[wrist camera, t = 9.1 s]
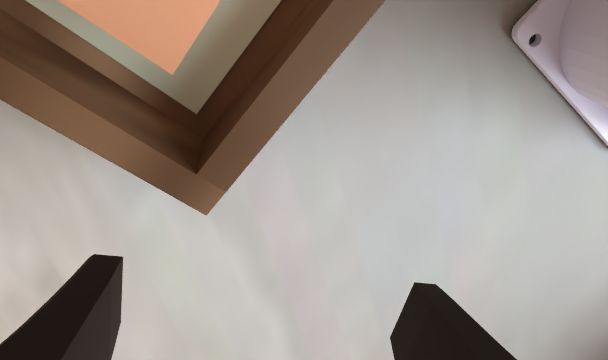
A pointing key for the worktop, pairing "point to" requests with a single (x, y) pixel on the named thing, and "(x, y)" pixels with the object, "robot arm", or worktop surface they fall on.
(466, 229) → the worktop surface
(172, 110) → the arena
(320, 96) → the worktop surface
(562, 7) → the robot arm
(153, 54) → the cube
